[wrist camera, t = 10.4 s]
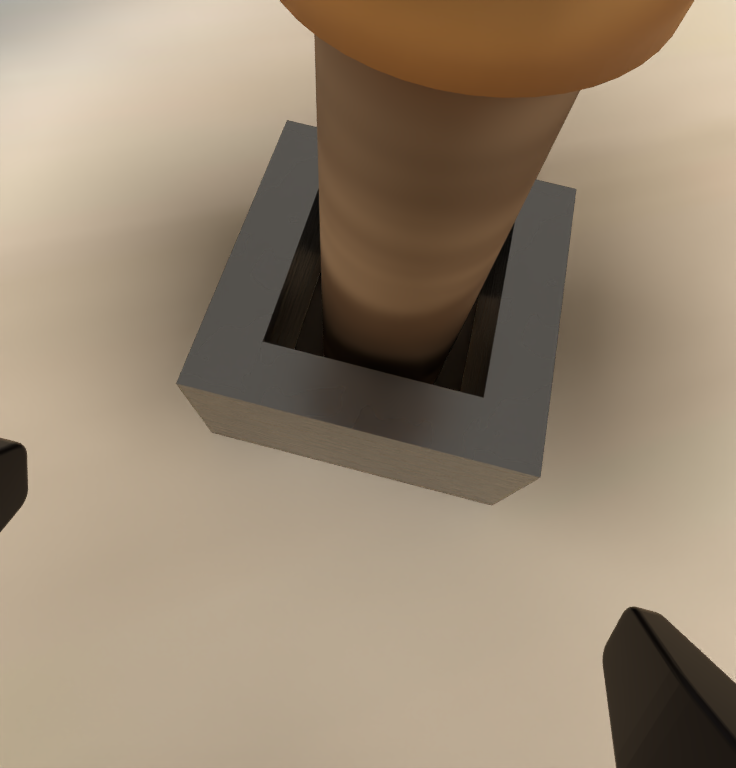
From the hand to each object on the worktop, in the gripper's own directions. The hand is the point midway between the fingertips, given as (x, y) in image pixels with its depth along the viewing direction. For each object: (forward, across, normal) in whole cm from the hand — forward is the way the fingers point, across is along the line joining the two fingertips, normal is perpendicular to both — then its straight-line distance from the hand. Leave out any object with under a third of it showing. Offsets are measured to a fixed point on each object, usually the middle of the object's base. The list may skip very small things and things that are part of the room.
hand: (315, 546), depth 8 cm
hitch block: (+11, 0, 0) cm, 11 cm away
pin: (+11, 0, 0) cm, 11 cm away
